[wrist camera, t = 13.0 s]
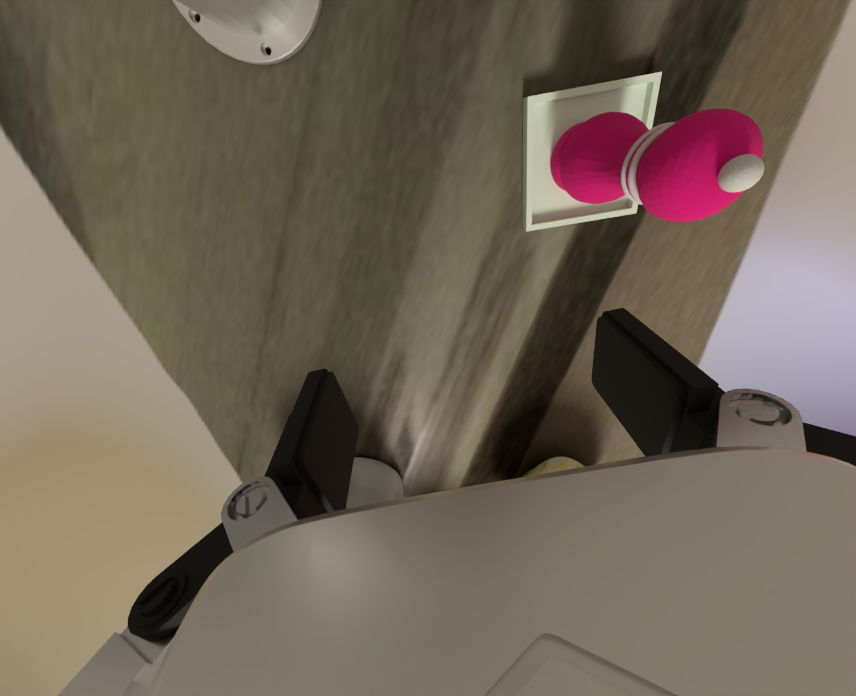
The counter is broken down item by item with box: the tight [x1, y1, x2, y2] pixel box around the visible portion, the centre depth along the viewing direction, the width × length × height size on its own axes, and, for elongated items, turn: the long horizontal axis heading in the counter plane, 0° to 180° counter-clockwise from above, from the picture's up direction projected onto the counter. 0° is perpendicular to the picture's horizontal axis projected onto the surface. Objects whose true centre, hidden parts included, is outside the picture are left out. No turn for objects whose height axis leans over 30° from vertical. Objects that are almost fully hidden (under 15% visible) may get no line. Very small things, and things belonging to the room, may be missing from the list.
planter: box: [346, 457, 403, 509], centre depth 54 cm, size 16×16×16 cm
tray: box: [522, 72, 662, 231], centre depth 33 cm, size 12×12×2 cm
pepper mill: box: [551, 109, 764, 222], centre depth 25 cm, size 7×7×20 cm
